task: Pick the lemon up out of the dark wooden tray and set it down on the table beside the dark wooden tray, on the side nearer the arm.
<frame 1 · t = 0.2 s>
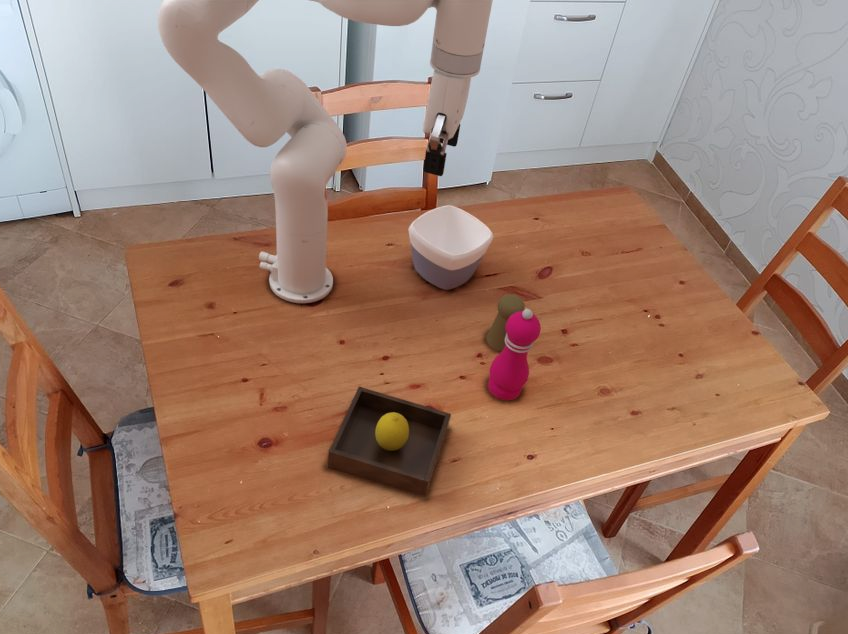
hand: (440, 158, 120), 36 cm above the table, tool pointing down, fingers open, 9 cm apart
dark wooden tray: (389, 447, 123), on the table
pepper mill: (504, 388, 136), on the table
bowl: (443, 271, 157), on the table
lemon: (389, 447, 123), resting on dark wooden tray
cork: (501, 341, 145), on the table
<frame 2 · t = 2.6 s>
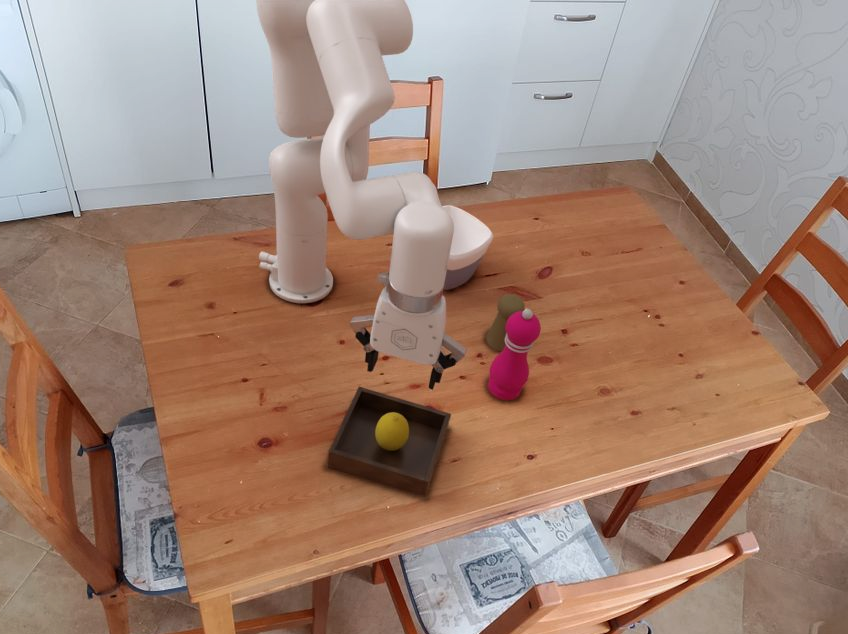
hand: (402, 374, 111), 18 cm above the table, tool pointing down, fingers open, 9 cm apart
nothing on the table moved.
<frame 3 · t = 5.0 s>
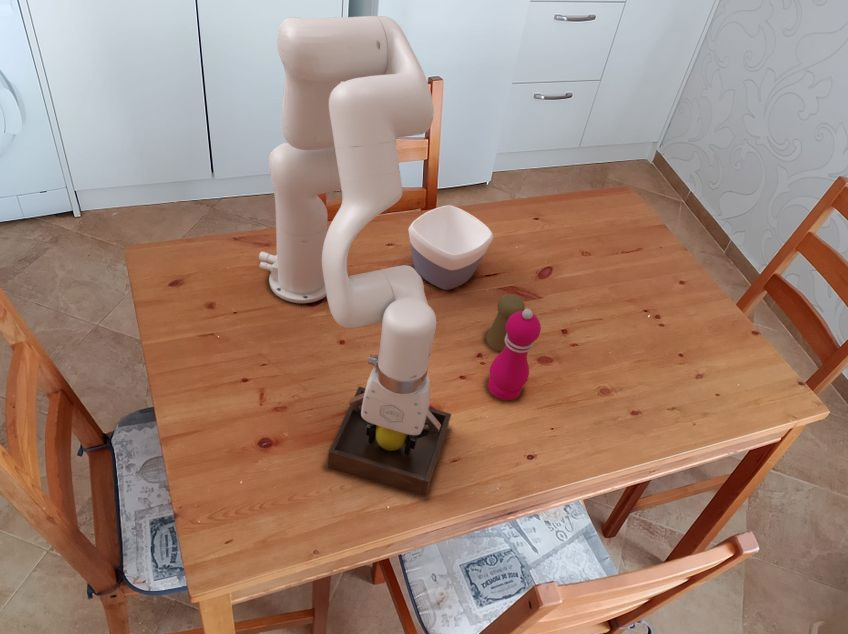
hand: (390, 442, 122), 2 cm above the table, tool pointing down, fingers closed on lemon, 5 cm apart
lemon: (389, 446, 123), resting on dark wooden tray, touching gripper
everything else where it was.
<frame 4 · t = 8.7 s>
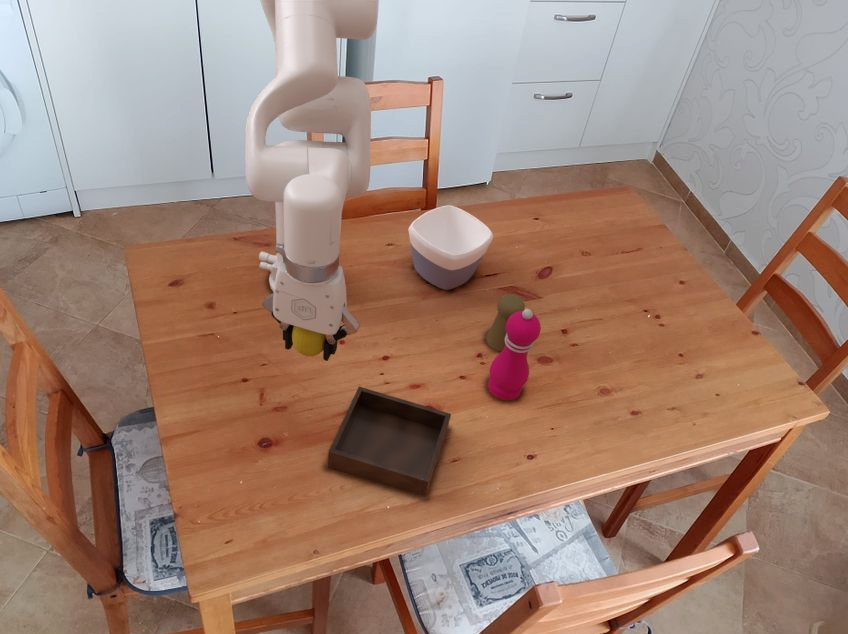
hand: (309, 348, 115), 16 cm above the table, tool pointing down, fingers closed on lemon, 5 cm apart
lemon: (309, 354, 116), point 14 cm above the table, touching gripper
everything else where it was.
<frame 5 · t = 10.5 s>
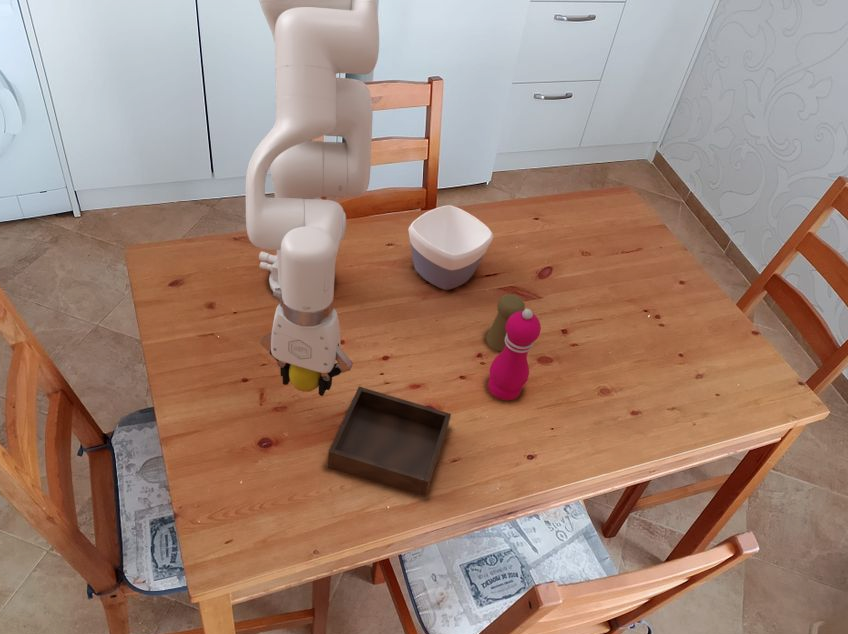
hand: (306, 383, 121), 7 cm above the table, tool pointing down, fingers closed on lemon, 5 cm apart
lemon: (305, 389, 122), point 6 cm above the table, touching gripper
everything else where it was.
when the fingers open (1 cm above the table, at t = 12.3 s): lemon stays where it is, on the table.
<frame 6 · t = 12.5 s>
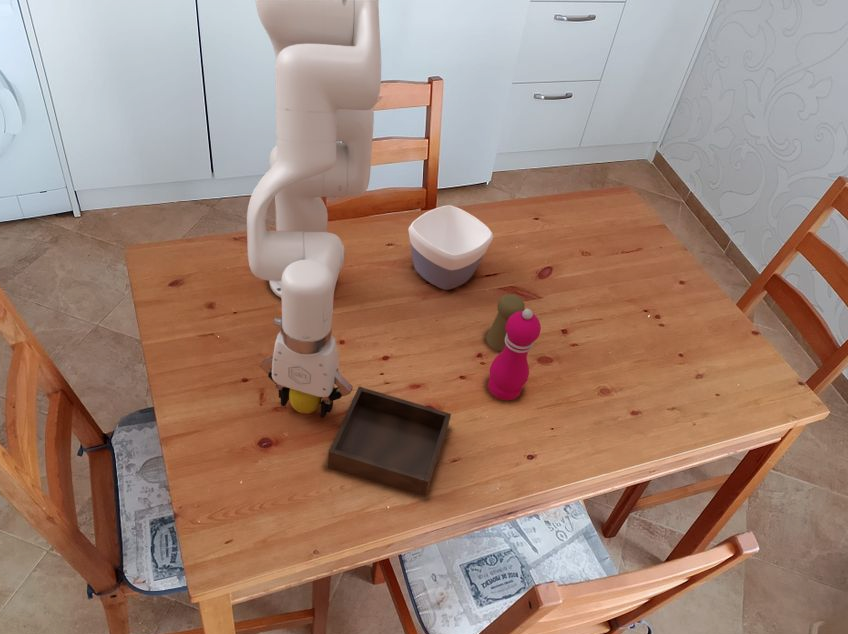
hand: (305, 405, 125), 1 cm above the table, tool pointing down, fingers open, 6 cm apart
lemon: (305, 410, 126), on the table
everything else where it was.
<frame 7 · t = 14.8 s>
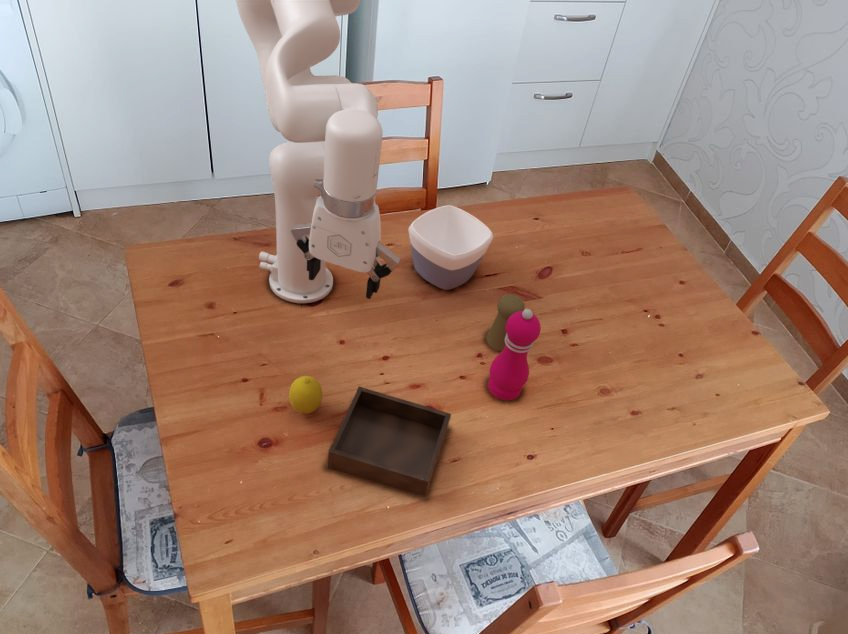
hand: (342, 284, 117), 22 cm above the table, tool pointing down, fingers open, 9 cm apart
nothing on the table moved.
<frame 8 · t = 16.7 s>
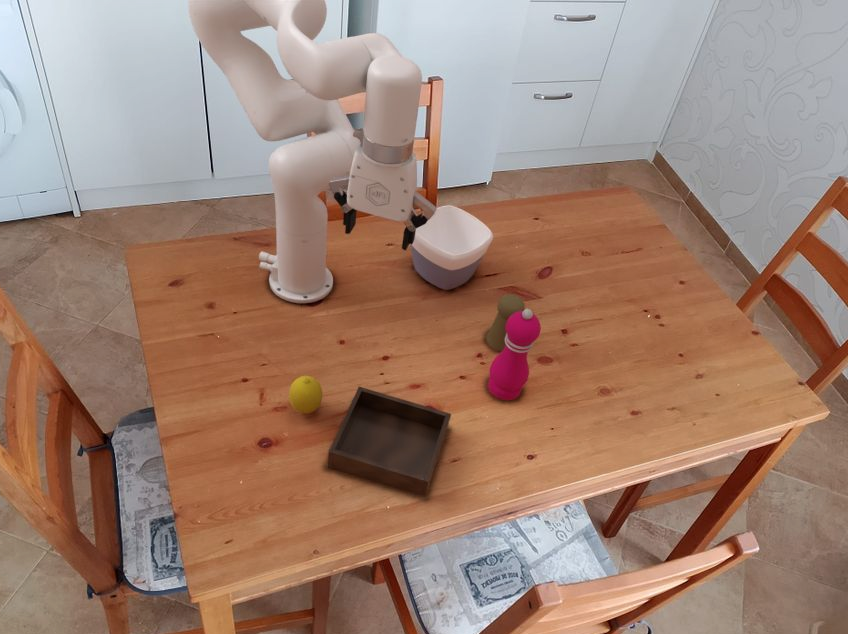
hand: (378, 237, 119), 26 cm above the table, tool pointing down, fingers open, 9 cm apart
nothing on the table moved.
at the end: lemon inside the target area (0.1 cm from its centre), on the table; lemon touching table; the gripper is holding nothing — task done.
